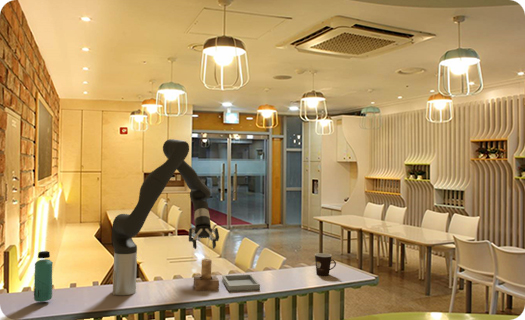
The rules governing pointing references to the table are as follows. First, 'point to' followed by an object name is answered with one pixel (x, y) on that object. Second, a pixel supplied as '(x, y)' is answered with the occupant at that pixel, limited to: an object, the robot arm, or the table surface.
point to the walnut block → (206, 283)
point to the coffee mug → (323, 264)
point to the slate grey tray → (240, 282)
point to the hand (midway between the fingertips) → (204, 247)
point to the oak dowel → (206, 269)
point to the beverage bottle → (43, 278)
